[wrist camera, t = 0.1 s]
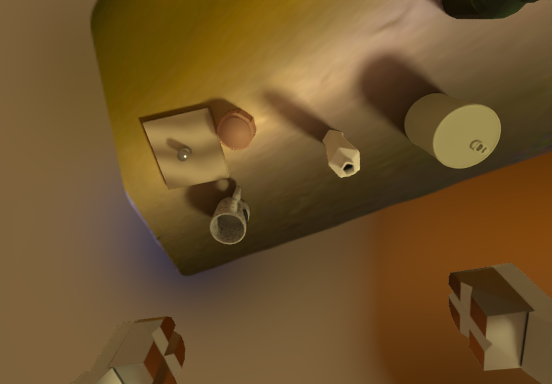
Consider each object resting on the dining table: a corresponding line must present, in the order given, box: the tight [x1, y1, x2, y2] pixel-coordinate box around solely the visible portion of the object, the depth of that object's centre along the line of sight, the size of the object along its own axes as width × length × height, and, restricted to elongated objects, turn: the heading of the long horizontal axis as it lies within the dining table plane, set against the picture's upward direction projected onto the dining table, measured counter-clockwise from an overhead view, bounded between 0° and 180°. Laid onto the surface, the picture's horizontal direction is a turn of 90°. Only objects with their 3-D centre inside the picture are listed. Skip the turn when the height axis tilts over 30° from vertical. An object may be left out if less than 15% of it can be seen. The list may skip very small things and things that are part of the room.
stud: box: [177, 146, 192, 161], centre depth 55 cm, size 2×2×3 cm
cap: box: [216, 109, 256, 150], centre depth 53 cm, size 6×6×4 cm
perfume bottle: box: [322, 130, 360, 178], centre depth 49 cm, size 5×4×15 cm
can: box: [404, 93, 501, 168], centre depth 48 cm, size 9×9×12 cm
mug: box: [209, 186, 250, 244], centre depth 59 cm, size 10×7×7 cm, turn 165°
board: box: [143, 107, 230, 190], centre depth 57 cm, size 13×12×1 cm
